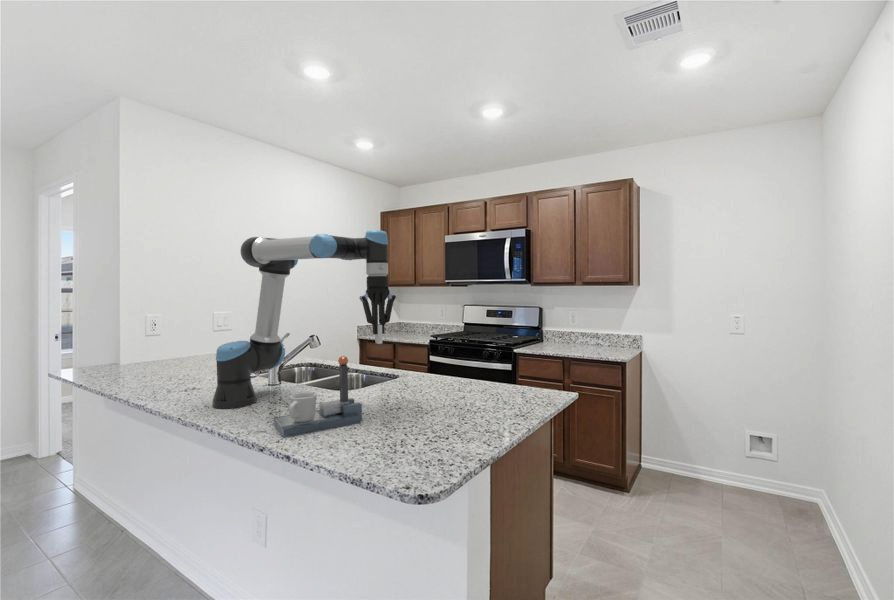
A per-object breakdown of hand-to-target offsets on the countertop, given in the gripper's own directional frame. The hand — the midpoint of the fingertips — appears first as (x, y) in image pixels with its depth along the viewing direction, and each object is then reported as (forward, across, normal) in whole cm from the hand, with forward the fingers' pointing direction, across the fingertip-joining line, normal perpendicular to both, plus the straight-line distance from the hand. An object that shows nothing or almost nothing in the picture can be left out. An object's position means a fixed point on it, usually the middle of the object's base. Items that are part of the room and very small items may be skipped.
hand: (378, 343), depth 153 cm
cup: (+22, -28, -4) cm, 36 cm away
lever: (+22, -16, 0) cm, 27 cm away
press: (+24, -21, 0) cm, 32 cm away
